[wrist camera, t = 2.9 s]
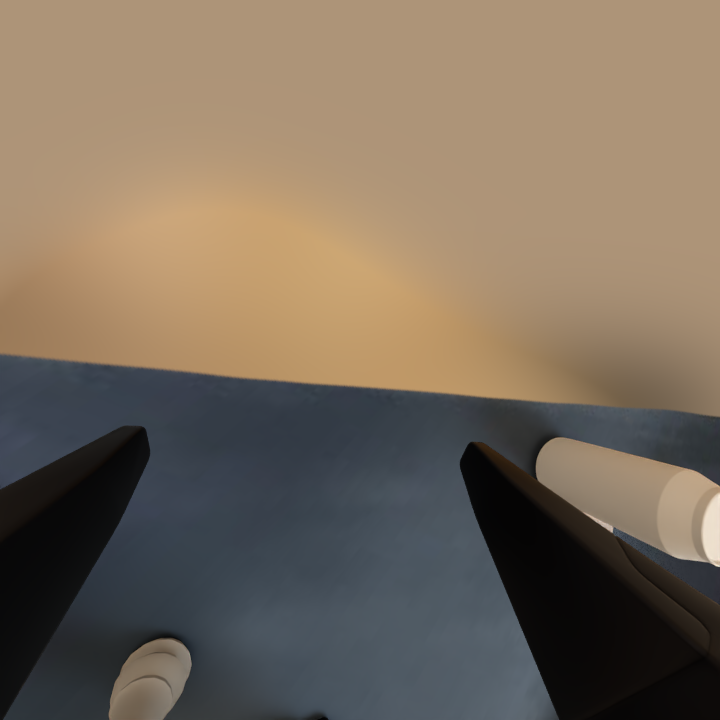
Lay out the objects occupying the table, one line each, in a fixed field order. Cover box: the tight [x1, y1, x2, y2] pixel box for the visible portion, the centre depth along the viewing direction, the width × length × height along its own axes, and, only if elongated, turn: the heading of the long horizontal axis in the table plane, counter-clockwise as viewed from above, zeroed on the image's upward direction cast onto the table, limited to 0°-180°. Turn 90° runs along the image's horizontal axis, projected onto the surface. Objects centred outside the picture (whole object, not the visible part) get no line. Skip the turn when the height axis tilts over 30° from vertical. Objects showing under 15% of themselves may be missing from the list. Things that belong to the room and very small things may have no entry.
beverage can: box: [536, 437, 720, 567], centre depth 23 cm, size 6×6×12 cm
